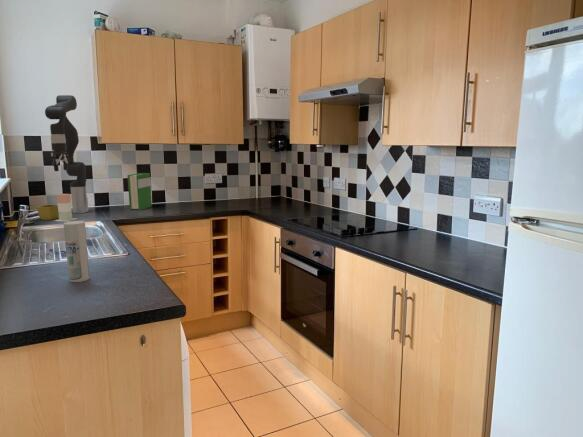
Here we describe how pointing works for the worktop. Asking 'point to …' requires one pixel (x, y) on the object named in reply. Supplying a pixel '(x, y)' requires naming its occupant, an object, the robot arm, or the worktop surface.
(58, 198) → the coral brick
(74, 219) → the birch board
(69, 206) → the cream brick
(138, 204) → the hardback book
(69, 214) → the sage brick
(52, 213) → the flower pot
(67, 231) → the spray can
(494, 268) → the worktop surface
